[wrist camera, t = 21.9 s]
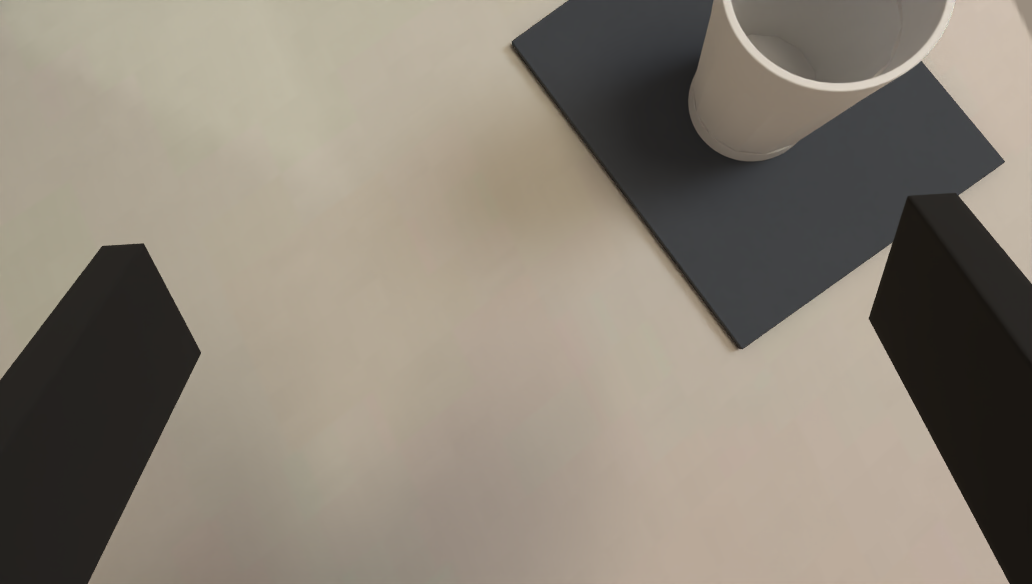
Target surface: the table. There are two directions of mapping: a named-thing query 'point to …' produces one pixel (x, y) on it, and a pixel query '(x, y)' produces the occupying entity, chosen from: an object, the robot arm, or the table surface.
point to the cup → (801, 65)
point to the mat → (746, 184)
